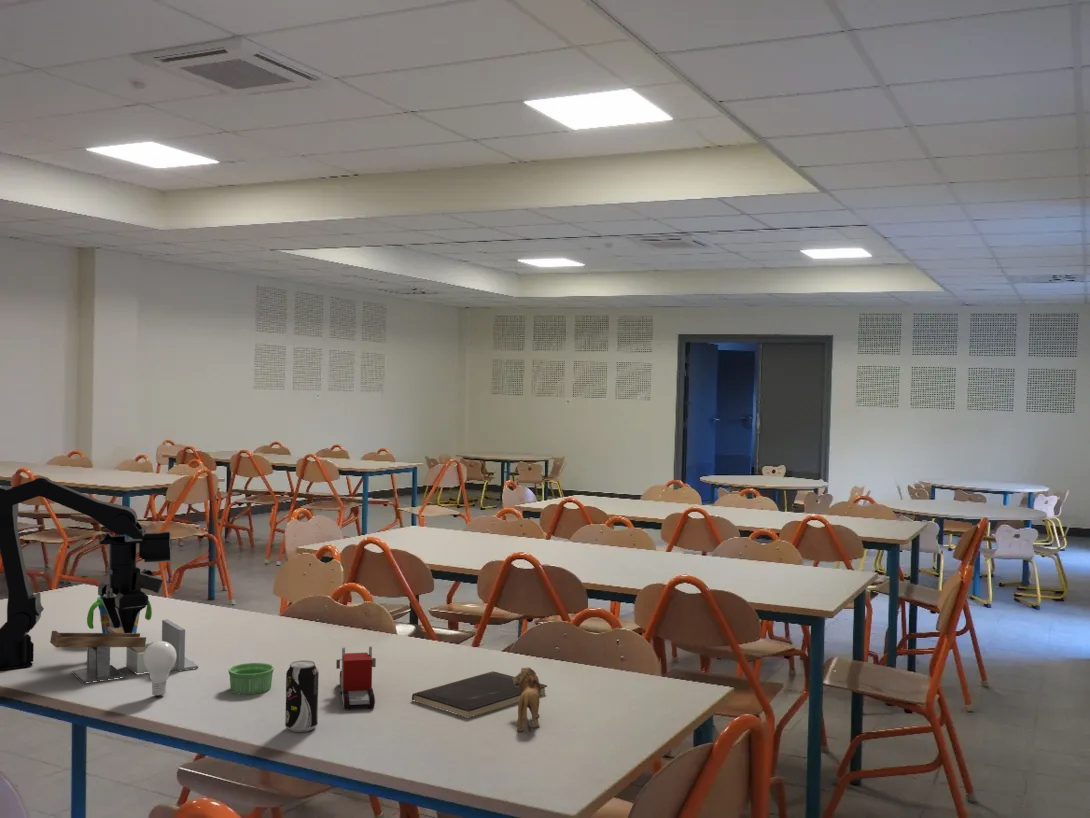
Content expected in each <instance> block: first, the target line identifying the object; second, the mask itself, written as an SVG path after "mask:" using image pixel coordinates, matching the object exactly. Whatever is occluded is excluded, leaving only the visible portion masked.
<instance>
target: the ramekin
mask: <svg viewBox="0 0 1090 818" xmlns="http://www.w3.org/2000/svg"><path fill="white" fill-rule="evenodd" d="M274 669H275V667H274V665H272V664H270V663H263V662H247V663H245V662H244V663H239V664H235V665H233V666H231V667H229V668H228V676H229V683H230V691H231V692H232V691H233V692H232V693H234V692H235V693H234V694H237V693H240V694H239V695H255V694H254V693H257V694H261V693H260V692H262V693H265V692H267V690H268V691H270V690H271V688H272V683H273V672H274ZM264 691H265V692H264Z"/></svg>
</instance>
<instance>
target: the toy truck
mask: <svg viewBox="0 0 1090 818" xmlns="http://www.w3.org/2000/svg"><path fill="white" fill-rule="evenodd" d="M372 655H373V646H372V645H368V652H349V653H348V652H346V647H345V646H342V647H341V659H340V658H339V659H336V660H335V661H336V662H335V663H336V667H335V669H336V670H340V671H339V679H338V680H339V685H340V687H339V692H340V693H342V694H341V699H342V706H343V710H345V711H348V710H349V707H350V706H353V705H355V706H357V705H368V706H369V707H370V708H369V709H371V710H372V709H374V708H375V704H376V698H375V693H374V689H373V687H372V686H373V683H372V682H373V668H376V666H377V665H376V663H377V662H376V661H377V660H376V659H377V658H376V657H373V656H372Z"/></svg>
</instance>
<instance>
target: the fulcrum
mask: <svg viewBox="0 0 1090 818" xmlns="http://www.w3.org/2000/svg"><path fill="white" fill-rule="evenodd" d="M71 670H72V671H71V673H72V672H73V673H74V674H75V675H76V676H77V677H78V678H79V679H80V680H81V681H82V682H83V683H86V682H93V681H100V680H108V679H114V678H120V677H124V678H125V674H124V673H122V672H121V671H120V670H119V669H117V668H116V667H115V666H114V665H113V664H111V647H110V645H106V646H98V647H86V668H85V667H84V668H79V669H71ZM73 673H72V674H73ZM74 674H73V675H74ZM75 675H74V676H75ZM76 676H75V677H76ZM77 677H76V678H77ZM78 678H77V679H78ZM79 679H78V680H79ZM80 680H79V681H80ZM81 681H80V682H81ZM108 681H109V680H108ZM82 682H81V683H82ZM83 683H82V684H83Z"/></svg>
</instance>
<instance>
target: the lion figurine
mask: <svg viewBox="0 0 1090 818" xmlns="http://www.w3.org/2000/svg"><path fill="white" fill-rule="evenodd" d="M520 669H521V670H520V672H519V673H518V674H517V675H516V676H513V677H514V678H513V682H514V684H515V685H516V687H520V693H521V696H520V700H519V702H518V706H517V715H518V716H517V728H516V731H517V732H522V731H524V727H523V719H524V724H525V726H526V729H527V732H528V733H533V730H532V728H533V727H534V728H540V723H538V722H537V718H539V717H540V714H539V709H540V703H541V702H540V698H541V697H540V696H541V695H540V693H541V687H540V686H541V684H542V683H540V681H539V680H540V679H539V677H538V676H537V673H536V672H535V669H532V668H531V667H528V666H526V667H521V668H520ZM528 710H529V712H530V714H531V722H532V727H531V726H530V723H529V721H528Z"/></svg>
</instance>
